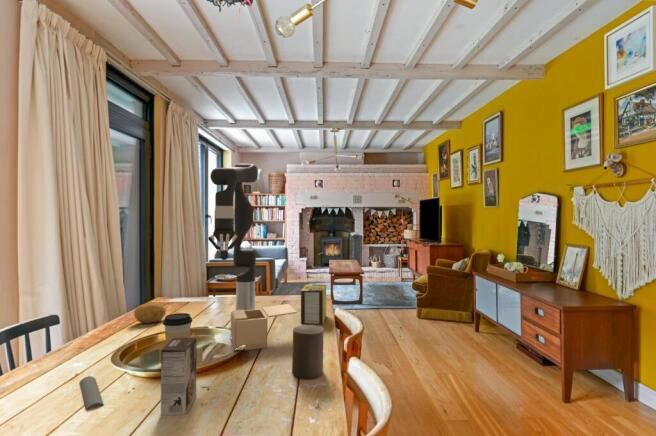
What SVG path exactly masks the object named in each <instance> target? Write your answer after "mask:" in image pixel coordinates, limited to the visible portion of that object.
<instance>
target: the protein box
mask: <svg viewBox="0 0 656 436" xmlns="http://www.w3.org/2000/svg"><path fill="white" fill-rule="evenodd" d="M326 317H327V285H326V284H305V285H304V287H302V288H301V290H300V324H301V325H323V324H324V322H325V319H326Z"/></svg>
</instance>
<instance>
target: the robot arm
mask: <svg viewBox="0 0 656 436" xmlns="http://www.w3.org/2000/svg"><path fill="white" fill-rule="evenodd" d="M258 176H259V171H258V167H257V166H256V164H253V163H236V164H234V167H233V166H231V167H230V166H229V167H215V168H213V169H212V170H211V172H210V180H211V183H212V184H214V185H216V186H226V188H225V189H223V190H219V191H217V192H215V198H214V199H215V201H214V203H215V205H214V206H215V207H214V231H213V234H212V235H210V236H209V237H207V239H208V241H209V242H210V243H211V244H212V246H213V247H214V248H215V249H216V250H219V252H220V253H219V254H220V255H219V257H220V259H221V260H222V261H226V260H227V259H228V258H229V256H228V255H229V250H232V249H233V254H232V256H233V257H232V258H233V259H232V261H233V266H234V267H235V268H248V269H247V270H245V271H244V272H241V273H239V274H237V275H236V276H235V277H236V278H235V279H236V280H235V281H236V285H235V288H236V289H235V291H236V292H235V310H254V309H256V262H257V253H256V250H255V248H241V245H242V243H243V240H244V238H245V236H246V235H247V234H248V232H249V231H250V229H251V228H252V226H253V224H254V207H253V205H252V204H251V202H250V201H249V198H247V197H248V196H246V193H245V192H244V187H243V184H244V183H245V184H246V183H255V182H256V181H257V180H258ZM215 239H216V240H217V242H219V245H218V244H217V243H216V242H215ZM231 240H233V241H232V242H231ZM230 242H231V243H230ZM229 243H230V244H229Z"/></svg>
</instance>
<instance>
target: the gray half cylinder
mask: <svg viewBox="0 0 656 436" xmlns="http://www.w3.org/2000/svg"><path fill="white" fill-rule="evenodd" d="M79 387H80V391H81V395H82V399H83V404H84V409H85V411H88V410H92V409H96V408H99V407H103V406H104V405H105V404H104V401H103V399H102V395H101V392H100V389H99V385H98V383H97V379H96V378H95V376H89V375H88V376H85V377H83V378H82V379H81V380H80V382H79Z"/></svg>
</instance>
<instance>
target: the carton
mask: <svg viewBox="0 0 656 436" xmlns="http://www.w3.org/2000/svg"><path fill="white" fill-rule="evenodd" d="M231 337H232V341H231V345H232V344H233V345H232V348H233V351H234V350H235V349H236V348H238V347H239V346H242V345H246V348H245V350H244V351H248V350H255V349H265V348H268V316H267V314H266V313H265V312H264V310H263V309H261V308H257V309H256V308H255V309H254V310H236V309H235V310H232V311H230V338H231Z"/></svg>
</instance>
